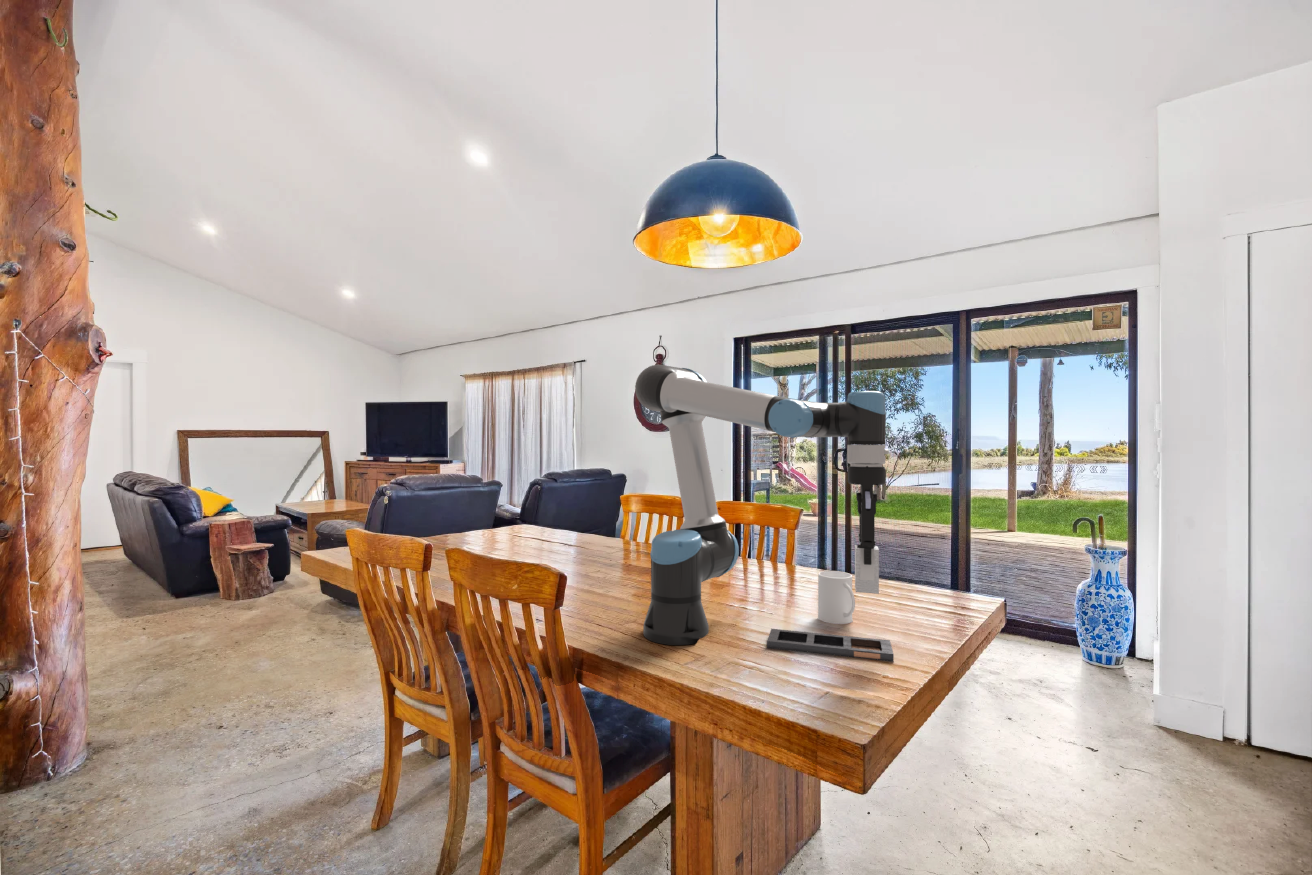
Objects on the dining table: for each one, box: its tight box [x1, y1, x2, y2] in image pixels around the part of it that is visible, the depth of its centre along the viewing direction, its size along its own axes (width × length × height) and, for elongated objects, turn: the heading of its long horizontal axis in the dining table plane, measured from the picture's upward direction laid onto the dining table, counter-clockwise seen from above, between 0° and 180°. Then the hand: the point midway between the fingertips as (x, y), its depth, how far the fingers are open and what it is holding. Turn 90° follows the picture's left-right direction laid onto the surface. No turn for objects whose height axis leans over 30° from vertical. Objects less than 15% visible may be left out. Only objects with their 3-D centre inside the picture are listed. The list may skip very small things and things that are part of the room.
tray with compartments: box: [766, 628, 894, 663], centre depth 124 cm, size 25×8×2 cm, turn 73°
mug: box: [817, 570, 856, 625], centre depth 143 cm, size 12×8×12 cm
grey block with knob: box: [854, 544, 880, 595], centre depth 122 cm, size 4×4×10 cm
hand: (866, 576), depth 122 cm, fingers closed on grey block with knob, 4 cm apart
